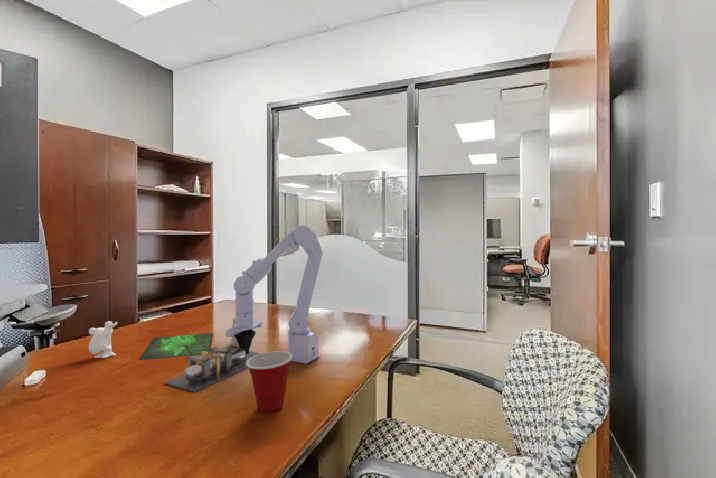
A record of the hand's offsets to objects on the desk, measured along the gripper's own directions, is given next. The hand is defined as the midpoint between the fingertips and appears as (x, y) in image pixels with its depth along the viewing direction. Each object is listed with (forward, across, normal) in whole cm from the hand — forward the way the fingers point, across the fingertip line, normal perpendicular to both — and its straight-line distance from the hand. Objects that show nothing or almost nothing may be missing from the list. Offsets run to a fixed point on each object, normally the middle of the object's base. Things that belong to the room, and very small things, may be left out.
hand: (244, 353), depth 121 cm
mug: (+2, -14, -15) cm, 21 cm away
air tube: (+1, +12, 0) cm, 12 cm away
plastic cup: (+2, +22, +29) cm, 37 cm away
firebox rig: (+2, +9, 0) cm, 9 cm away
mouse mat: (+3, -1, -33) cm, 33 cm away
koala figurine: (+2, +19, -45) cm, 49 cm away
